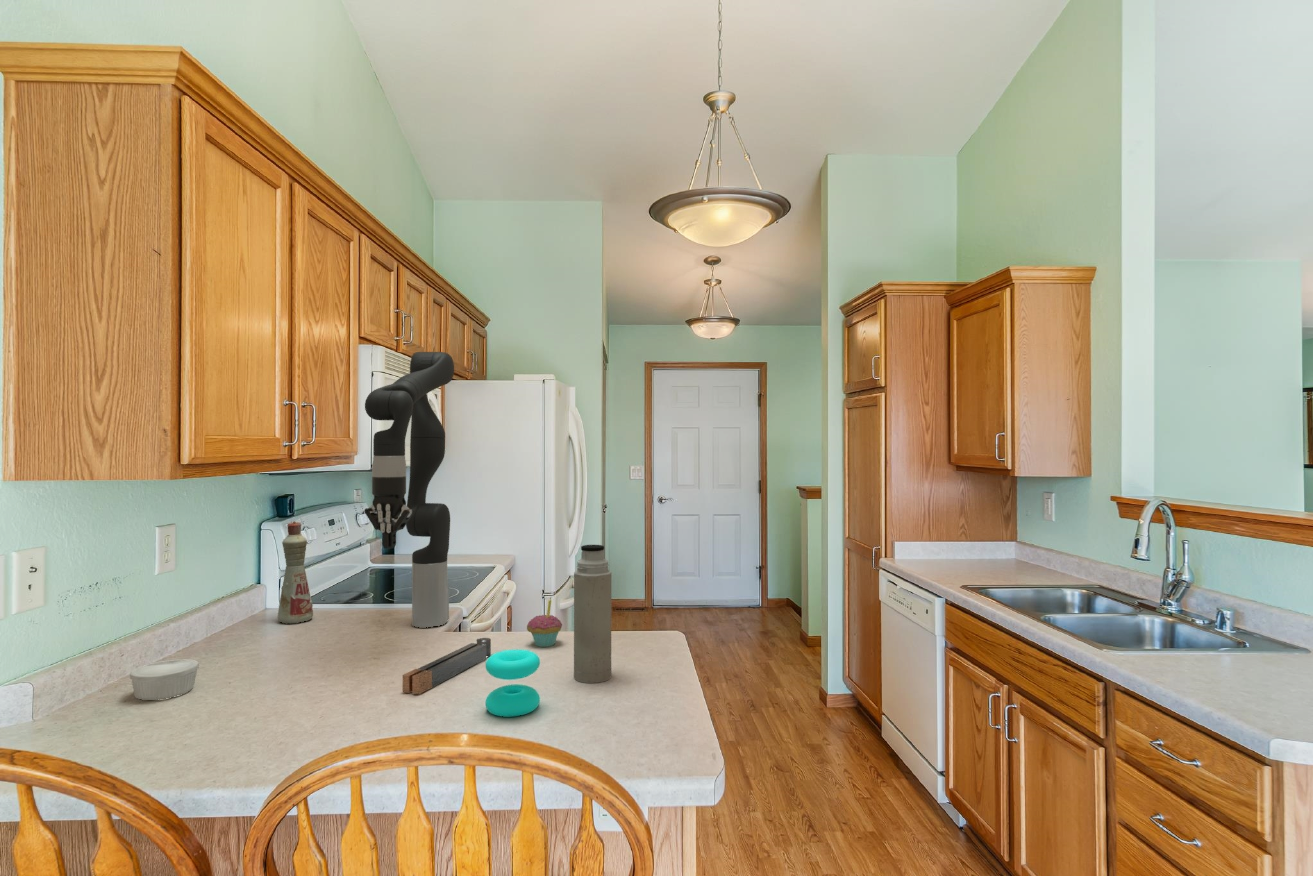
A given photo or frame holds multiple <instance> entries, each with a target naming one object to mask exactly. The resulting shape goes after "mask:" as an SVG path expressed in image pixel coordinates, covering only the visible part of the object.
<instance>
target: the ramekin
mask: <svg viewBox="0 0 1313 876" xmlns="http://www.w3.org/2000/svg"><path fill="white" fill-rule="evenodd" d="M199 666H200V663H199V661H197V660H195V659H189V658H187V659H183V658H181V659H170V660H162V661H156V662H151V663H147V664H144V665H141V666H138V667H135V668H133V669H132V670H131V671H130V673H129V679H131V685H132V689H133V694H134V697H135V698H136V699H137V698H138V699H137V700H139V699H142V700H158V699H166V698H170V697H174V696H177V695H181V694H184V693H186V692H188V691H189V692H191V691H192V689H193V688H194V686H195V681H196V676H197V673H198V669H199ZM189 692H188V693H189ZM186 694H187V693H186ZM184 695H185V694H184ZM181 696H182V695H181ZM142 700H141V701H142ZM166 700H167V699H166Z"/></svg>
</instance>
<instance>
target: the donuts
mask: <svg viewBox="0 0 1313 876" xmlns="http://www.w3.org/2000/svg"><path fill="white" fill-rule="evenodd" d="M540 664H541V660H540V656H539V655H538V654H537V653H536V652H534V651H531V650H528V649H506V650H501V651H498V652H495V653H493V654H491V656H490V657H487V658H486V661H485V669H486V671H487V673H488V674H489V675H490V676H491V677H493V678H496V679H500V680H504V681H505V680H509V681H511V680H512V681H513V680H519V679H523V678H527V677H529V676H531V675H533V674H535V673H536V671H538V669H539V667H540ZM540 697H541V696H540V694H539V692H538V691H537V689H535V688H534V687H531V686H528V685H526V684H518V683H517V684H507V685H503V686H500V687H497V688H495V689H494V690H492V691H491V692H489V694H488V695H487V696H486V699H485V708H486V710H487V711H488V712H489V713H490V714H492V715H495V716H498V717H502V716H503V717H505V718H510V717H511V718H512V717H513V718H515V717H521V716H524V715H527V714H530V713H531V712H533V711H535V710H536V709H537V707H538V706H539V704H540V701H541V700H540V699H541V698H540ZM520 715H521V716H520Z"/></svg>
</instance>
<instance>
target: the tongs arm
mask: <svg viewBox="0 0 1313 876" xmlns="http://www.w3.org/2000/svg"><path fill="white" fill-rule="evenodd" d="M475 646H477V642H474V643H473V642H471V643H469V644H467V645H465V646H461V647H460V648H458V649H455V650H453V651H452V652H450V653H447V654H446V655H443V656H441V657H439V658H437V659H436V660H433V661H430V662H429V663H427V664H425V665H423V666H421V667H418V668H415V669H412V670H410V671H409V672H408V671H407V672H406V673H404V674H402V693H405V694H410V693H412V676H414V675H416V674H418V673H420V672H422V671H424V670H428V669H430V668H432V667H434V666H437V665H439V664H441V663H443V662H445V661H447V660H449V659H451V658H453V657H455V656H457V655H459V654H461V653H463V652H465V651H467V650H469V649H471V648H473V647H475Z"/></svg>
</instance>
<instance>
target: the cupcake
mask: <svg viewBox="0 0 1313 876" xmlns="http://www.w3.org/2000/svg"><path fill="white" fill-rule="evenodd" d="M551 605H552V596H550V598H549V599H548V603H547V612H546V614H541V615H536V616H534V617H533V618H532V619H530V620H529V621H528V623H527V625H526V631H528V632H529V633H531V635H532V638H533V641H534V644H535V646H536V647H540V648H541V647H542V648H544V647H545V648H546V647H553V646H554V645H555V644H556V641H557V636H558V634H559V632H560V631H561V630H562V626H563V624H562V622H561V620H560V619H559V618H558V617H557V616H554V615H552V614H550V613H551Z"/></svg>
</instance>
